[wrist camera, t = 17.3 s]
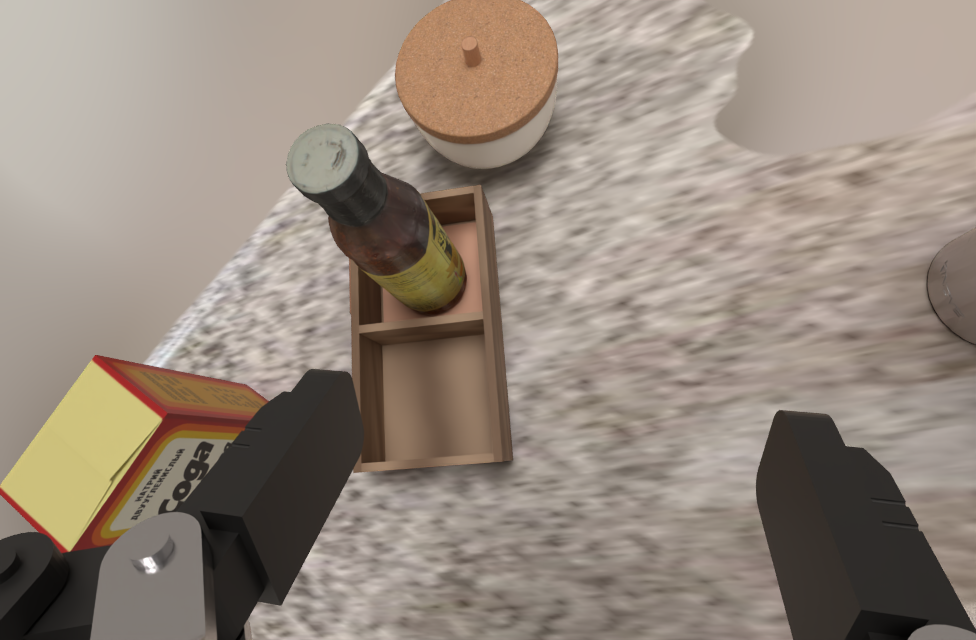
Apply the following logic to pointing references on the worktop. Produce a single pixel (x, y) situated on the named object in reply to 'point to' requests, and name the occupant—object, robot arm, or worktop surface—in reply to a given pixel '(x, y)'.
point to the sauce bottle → (378, 220)
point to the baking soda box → (124, 450)
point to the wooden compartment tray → (434, 357)
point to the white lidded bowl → (480, 80)
